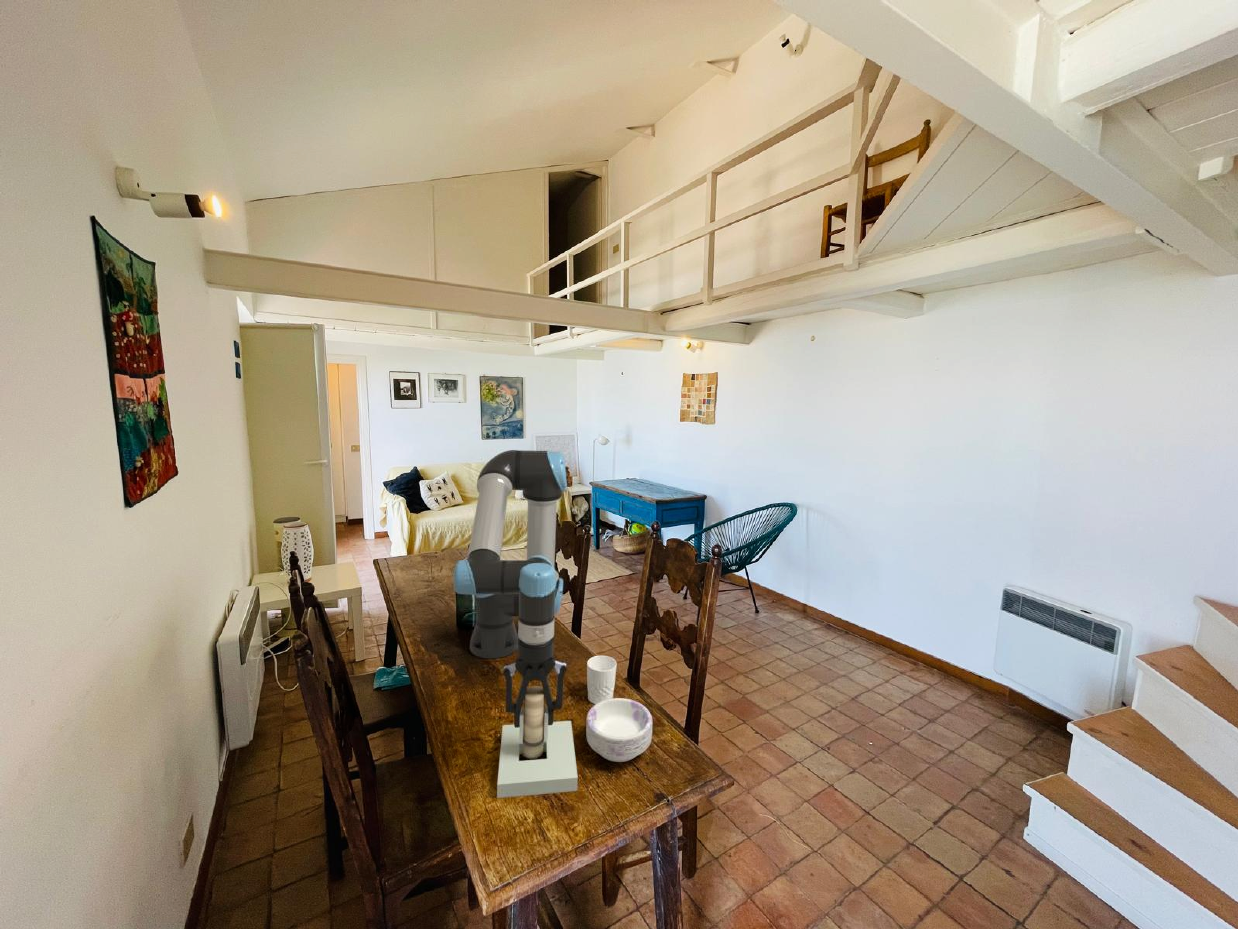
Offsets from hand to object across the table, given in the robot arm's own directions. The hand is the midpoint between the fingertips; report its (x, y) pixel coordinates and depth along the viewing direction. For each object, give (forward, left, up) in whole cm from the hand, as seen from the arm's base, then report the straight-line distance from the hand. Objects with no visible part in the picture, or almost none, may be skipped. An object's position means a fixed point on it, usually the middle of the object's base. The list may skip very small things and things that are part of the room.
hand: (533, 738), depth 107 cm
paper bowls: (-3, +20, -6) cm, 21 cm away
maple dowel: (0, 0, -3) cm, 3 cm away
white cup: (-22, +18, -6) cm, 29 cm away
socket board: (0, +1, -6) cm, 6 cm away
